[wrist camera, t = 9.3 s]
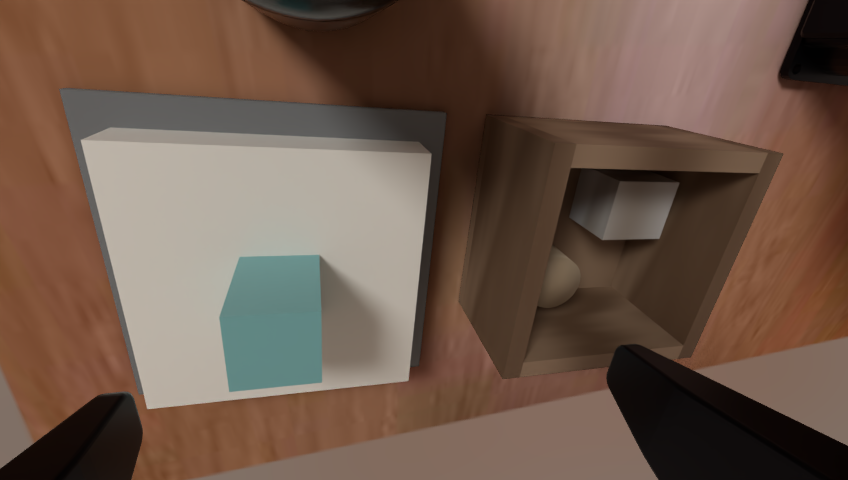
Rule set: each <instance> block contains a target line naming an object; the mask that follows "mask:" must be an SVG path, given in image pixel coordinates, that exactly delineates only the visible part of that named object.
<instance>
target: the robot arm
mask: <svg viewBox="0 0 848 480" xmlns="http://www.w3.org/2000/svg"><path fill="white" fill-rule="evenodd" d="M781 77H782V78H784V79H790V80H799V81H808V82H817V83H826V84H836V85H845V86H848V0H810V1H809V4H808V6H807V8H806V11H805V13H804V16H803V18H802V20H801V23H800V25H799V27H798V30H797V32H796V35H795V37H794V39H793V42H792V44H791V47H790V49H789V51H788V54H787V56H786V59H785V61H784V63H783V66H782V68H781ZM606 379H607V384H608V387H609V389H610V391H611V393H612V395H613V397H614V399H615V401H616V402H617V405H618V407H619V409H620V411H621V412H622V415H623V417H624V418H625V420H626V422H627V424H628V426H629V428H630V430H631V432H632V434H633V436H634V438H635V440H636V442H637V444H638V446H639V448H640V450H641V452H642V453H643V455H644V457H645V459H646V460H647V462H648V464H649V465H650V467H651V469H652V470H653V472H654V474H655V475H656V477H657V478H658V480H848V446H847V445H845V444H843V443H841V442H839V441H837V440H835V439H832V438H830V437H829V436H827V435H824V434H822V433H820V432H818V431H816V430H814V429H812V428H810V427H808V426H806V425H804V424H802V423H800V422H798V421H795V420H794V419H791V418H790V417H788V416H785V415H783V414H781V413H779V412H777V411H775V410H773V409H771V408H769V407H767V406H765V405H763V404H761V403H759V402H757V401H755V400H753V399H750V398H748V397H746V396H744V395H742V394H740V393H738V392H736V391H734V390H732V389H730V388H728V387H726V386H724V385H722V384H720V383H717V382H715V381H713V380H711V379H709V378H707V377H705V376H703V375H701V374H699V373H697V372H695V371H693V370H691V369H689V368H687V367H685V366H683V365H681V364H679V363H677V362H674V361H672V360H670V359H668V358H666V357H664V356H662V355H660V354H658V353H656V352H654V351H652V350H650V349H648V348H646V347H644V346H642V345H639V344H625V345H620V346H618V347H617V348H616V350H615V352H614V355H613V357H612V360H611V363H610V366H609V369H608V372H607V377H606ZM142 435H143V430H142V425H141V421H140V418H139V414H138V411H137V408H136V404H135V401H134V398H133V396H132V395H131V393H129V392H116V393H106V394H101V395H98V396H97V397H95V398H93V399H92V400H91V401H89V402H88V403H87V404H85V405H84V406H83V407H81V408H80V409H79V410H77V411H76V412H75V413H74V414H72V415H71V416H70V417H68V418H67V419H66V420H64V421H63V422H62V423H60V424H59V425H58V426H56V427H55V428H54V429H52V430H51V431H50V432H48V433H47V434H46V435H44V436H43V437H42V438H40V439H39V440H38V441H36V442H35V443H34V444H32V445H31V446H30V447H29V448H27V449H26V450H25V451H23V452H22V453H21V454H19V455H18V456H17V457H15V458H14V459H13V460H11V461H10V462H9V463H7V464H6V465H5V466H3V467H2V468H1V469H0V480H131V479H132V475H133V471H134V468H135V464H136V461H137V457H138V453H139V450H140V446H141V442H142Z"/></svg>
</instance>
